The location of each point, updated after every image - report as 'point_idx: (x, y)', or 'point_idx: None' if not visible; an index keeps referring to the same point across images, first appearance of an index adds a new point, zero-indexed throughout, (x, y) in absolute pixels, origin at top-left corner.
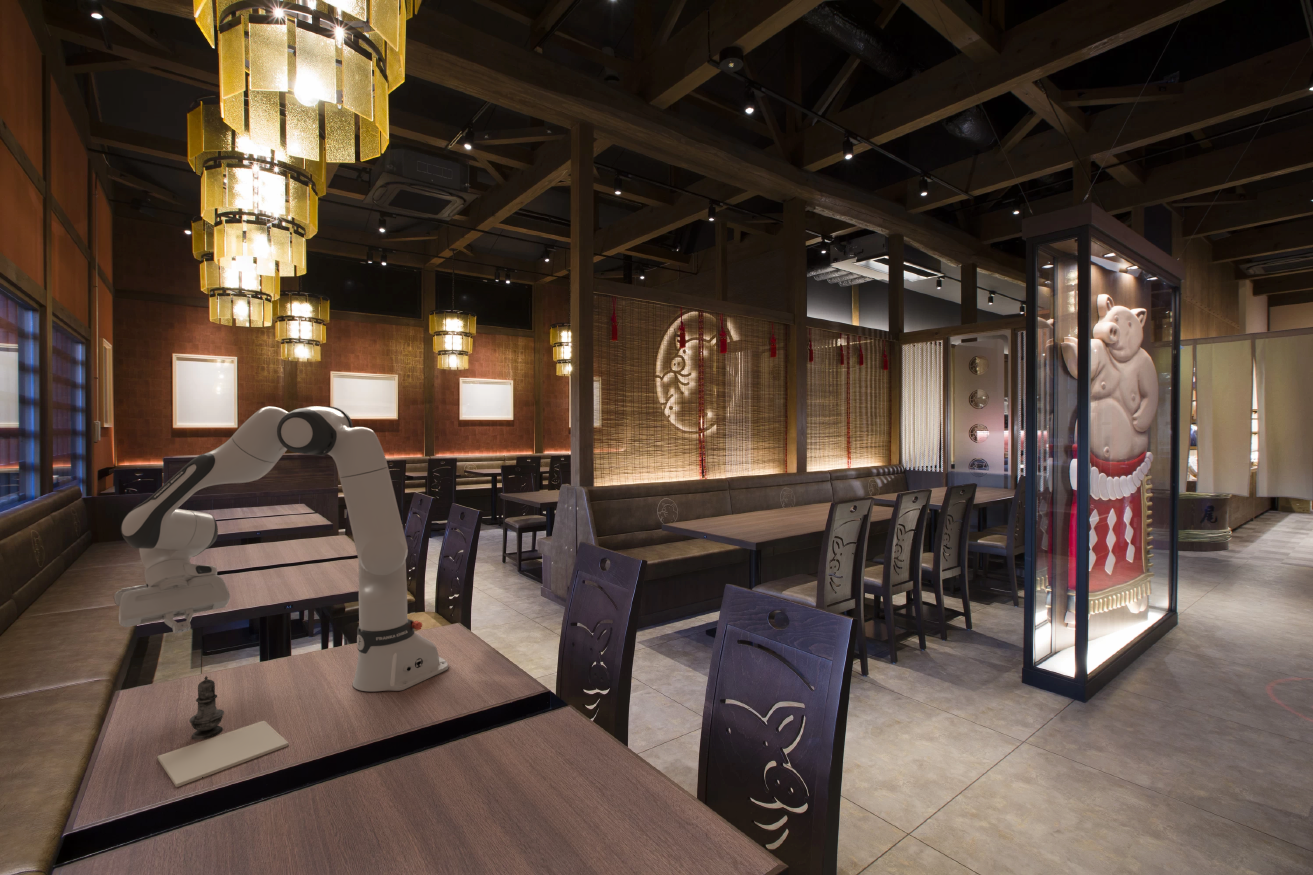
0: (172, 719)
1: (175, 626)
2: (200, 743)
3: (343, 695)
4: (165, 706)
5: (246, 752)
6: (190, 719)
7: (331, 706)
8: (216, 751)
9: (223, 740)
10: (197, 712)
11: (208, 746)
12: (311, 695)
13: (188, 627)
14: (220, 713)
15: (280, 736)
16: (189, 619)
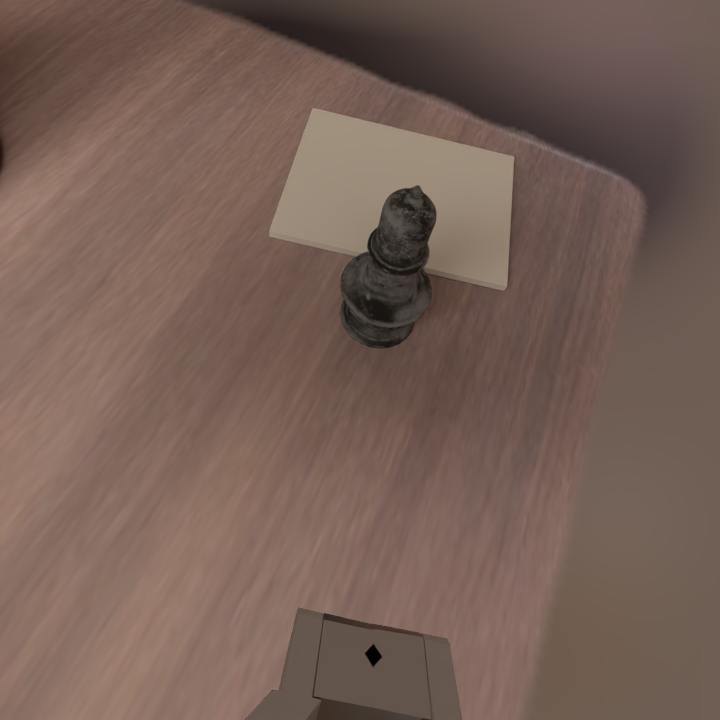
0: (395, 507)
1: (444, 668)
2: None
3: (42, 189)
4: None
5: (382, 144)
6: (425, 304)
7: (119, 168)
8: None
9: None
10: (415, 280)
11: None
12: (72, 268)
13: (319, 612)
14: (359, 262)
15: (303, 138)
16: (274, 703)
